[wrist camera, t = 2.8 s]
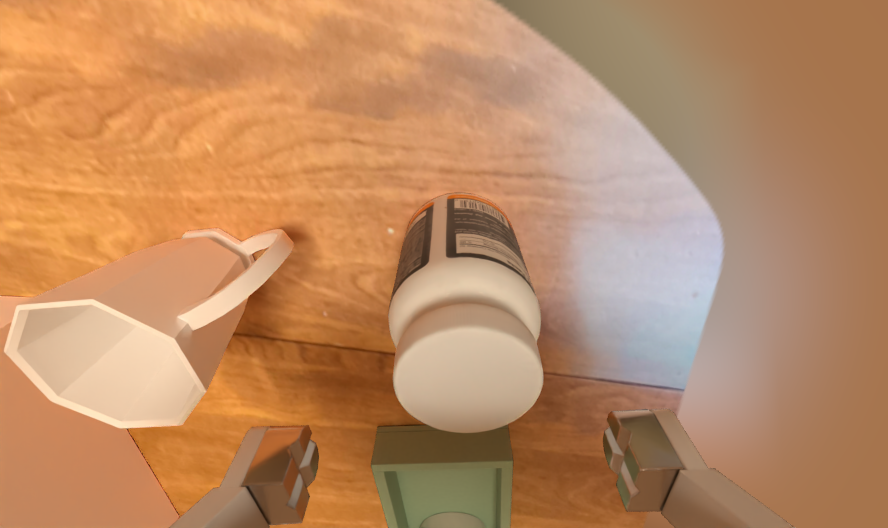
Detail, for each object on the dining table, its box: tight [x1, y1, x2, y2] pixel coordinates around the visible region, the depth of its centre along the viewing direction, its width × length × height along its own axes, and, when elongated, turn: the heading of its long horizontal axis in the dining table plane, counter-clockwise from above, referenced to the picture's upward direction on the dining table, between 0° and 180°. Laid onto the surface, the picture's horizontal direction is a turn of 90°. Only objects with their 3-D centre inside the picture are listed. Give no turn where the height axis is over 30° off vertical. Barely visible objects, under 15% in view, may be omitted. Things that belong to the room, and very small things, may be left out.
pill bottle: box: [388, 193, 543, 433], centre depth 16 cm, size 6×6×10 cm
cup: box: [4, 228, 294, 429], centre depth 17 cm, size 7×10×8 cm
